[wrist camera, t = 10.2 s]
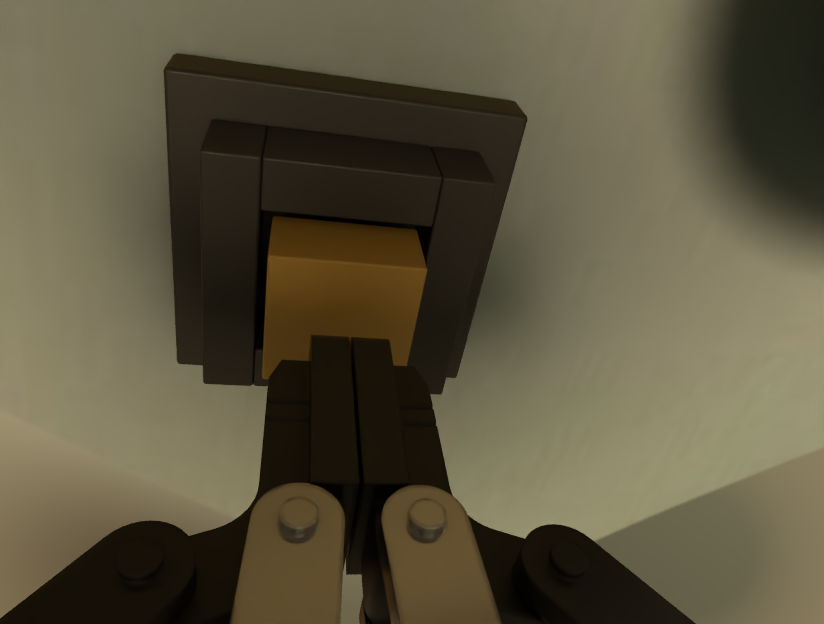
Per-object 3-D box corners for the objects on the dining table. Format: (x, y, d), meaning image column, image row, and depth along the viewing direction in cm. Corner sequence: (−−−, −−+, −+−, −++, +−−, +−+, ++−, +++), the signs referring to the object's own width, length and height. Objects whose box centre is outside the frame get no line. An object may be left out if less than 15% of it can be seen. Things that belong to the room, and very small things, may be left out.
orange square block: (272, 214, 14) (267, 255, 12) (417, 228, 14) (428, 269, 13) (266, 332, 16) (261, 380, 14) (395, 340, 16) (402, 386, 15)
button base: (173, 52, 14) (143, 93, 12) (516, 100, 16) (552, 146, 13) (183, 338, 19) (164, 410, 16) (450, 353, 20) (468, 422, 18)
